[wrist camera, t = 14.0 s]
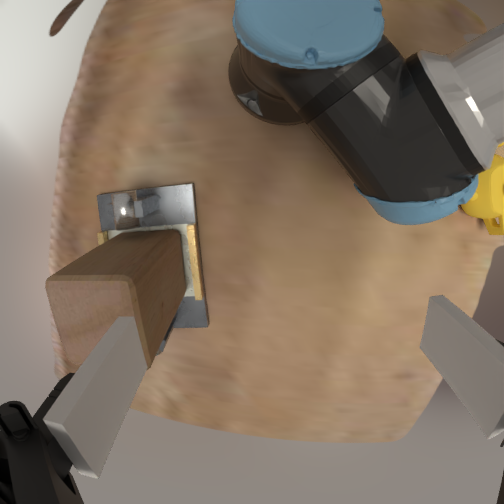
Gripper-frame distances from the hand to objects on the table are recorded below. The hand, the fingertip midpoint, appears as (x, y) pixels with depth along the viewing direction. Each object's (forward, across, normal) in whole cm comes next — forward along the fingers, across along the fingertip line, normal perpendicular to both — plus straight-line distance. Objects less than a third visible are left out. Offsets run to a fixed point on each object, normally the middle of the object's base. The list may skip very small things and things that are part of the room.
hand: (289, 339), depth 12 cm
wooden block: (+31, -17, -6) cm, 36 cm away
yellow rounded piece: (+33, +37, +5) cm, 50 cm away
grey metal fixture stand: (+33, -17, -6) cm, 37 cm away
